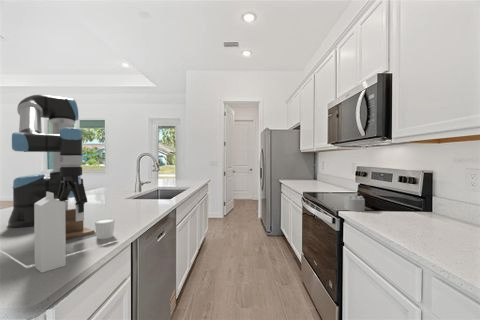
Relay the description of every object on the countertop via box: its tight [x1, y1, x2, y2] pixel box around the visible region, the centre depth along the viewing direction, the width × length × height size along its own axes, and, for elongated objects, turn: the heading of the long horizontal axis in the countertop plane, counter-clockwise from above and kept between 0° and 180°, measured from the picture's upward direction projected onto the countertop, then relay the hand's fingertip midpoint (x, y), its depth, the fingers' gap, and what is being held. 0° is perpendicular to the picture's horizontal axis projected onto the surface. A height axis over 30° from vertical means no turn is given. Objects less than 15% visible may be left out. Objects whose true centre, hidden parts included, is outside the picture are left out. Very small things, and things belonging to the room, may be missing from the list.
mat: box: [66, 231, 97, 245], centre depth 103 cm, size 20×14×1 cm
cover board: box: [65, 208, 95, 240], centre depth 103 cm, size 12×12×10 cm
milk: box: [33, 192, 67, 273], centre depth 75 cm, size 6×6×22 cm
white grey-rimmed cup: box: [94, 218, 115, 240], centre depth 101 cm, size 7×7×7 cm
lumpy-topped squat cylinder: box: [344, 194, 366, 213], centre depth 159 cm, size 10×13×9 cm
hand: (71, 218), depth 103 cm, fingers open, 13 cm apart
